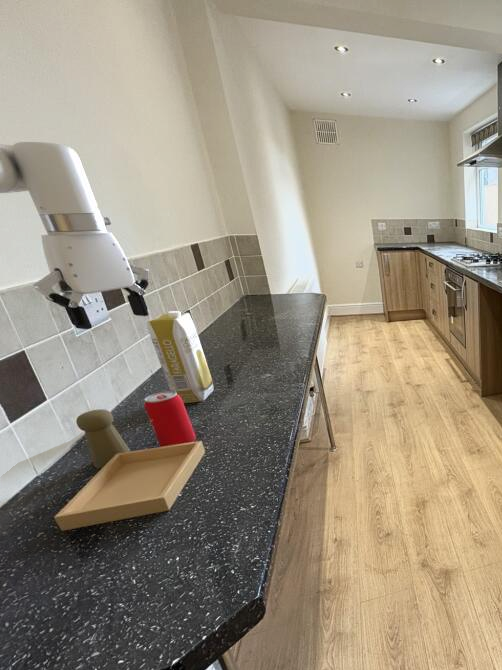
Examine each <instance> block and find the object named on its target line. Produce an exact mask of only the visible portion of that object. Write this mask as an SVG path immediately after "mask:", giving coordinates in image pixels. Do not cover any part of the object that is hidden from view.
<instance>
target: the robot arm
mask: <svg viewBox="0 0 502 670" xmlns="http://www.w3.org/2000/svg"><path fill="white" fill-rule="evenodd" d="M84 169H85V168H84V167H83V164H82V162H81V159H80V157H79V154H77V152H76V151H75V150H74V149H73V148H71V147H69V146H67V145H65V144H59V143H53V142H42V141H21V142H19V141H18V142H15V143H13V145H11V144H3V143H0V194H12V193H20V192H29V195H30V197H31V199H32V202H33V204H34V207H35V209H36V211H37V213H38V215H39V218H40V220H41V223H42V225H43V227H44V229H45V231H46V234H42V235H41V243H42V249H43V253H44V257H45V260H46V264H47V267H48V270H49V273H48V274H46V275H45V276H44V277H42V278H41V279H40V280H37V282H35V283H33V284H32V287H33V288H34V290H35V291H37V293H40V294H41V296H43V297H45V298H46V300H48V301H50V302H52V303H54V304H56V305H58V306H59V307H62V308H64V310H65V312H66V314H67V317H68V318H69V320H70V323H71V324H72V325H73V326H74V327H75V328H76V329H78V330H79V329H80V330H91V329H92V328H93V325H92V323H91V321H90V318H89V316H88V314H87V311H86V309H85V307H84V306H83V305H82V306H81V305H80V302H81V300H82V299H83V296H84V295H89V294H96V293H103V292H109V291H114V290H120V289H122V290H123V291H125V292H126V293H128V294H127V297H126V298H127V300H128V303H129V307H130V308H131V311H132V314H133V315H134V316H138V317H147V316H149V315H150V313H149V311H148V309H149V308H148V305H147V302H146V300H145V297H144V295H145V294H146V290H147V288H148V286H149V277H150V271H149V269H145V268H143V267H139V266H136V265H134V264H130V263H129V262H128V258H127V257H126V254H125V253H124V251H123V249H122V247H121V245H120V244H119V242H118V241H117V239H116V237H115V236H114V234H113V233H112V232H109V231H108V230H107V229H108V228H107V226H110V225H111V224H112V221H111V219H110V218H109V217H108V216H103V215H102V213H101V212H100V208H99V206H98V203H97V201H96V199H95V196H94V193H93V190H92V188H91V186H90V183H89V180H88V177H87V175H86V172H85V170H84ZM134 274H135V275H136V276H137V277H136V278H137V280H136V281H135V276H134ZM54 286H55V288H56V289H57V291H58V292H60V293H62V294H60V293H57V292H56V291H55V290H54V288H53V287H54Z"/></svg>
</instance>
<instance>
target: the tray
mask: <svg viewBox="0 0 502 670" xmlns="http://www.w3.org/2000/svg"><path fill="white" fill-rule="evenodd" d="M130 451H131V450H130ZM205 453H206V449H205V447H204V444H203V441H202V440H198V441H194V442H190V443H183V444H177V445H170V446H164V447H161V446H158V447H152V448H151V447H150V448H145V449H138V450H137V449H136V450H132V451H131V452H124V453H118V454H116V455H115V456H114V457H113V458H112V459H111V460H110V461H109V462H108V463H107V464H106V465H105V466H104V467H103V468H100V470H99V471H98V472H97V473H96V474H95V475H94V476H92V478H91V479H90V480H89V481H88V482H87V483H86V484H85V485H84V486H83V487H82V488H81V489H80V490H79V491H78V492H77V494H75V495H74V496H73V497H72V498H71V499H70V501H69V502H67V504H65V506H64V507H63V508H62V509H60V511H58V513H57V514H55V516H54V517H53V518H54V521H55V522H56V524H57V525H58V527H59V529H60V530H61V532H63V531H69V530H74V529H80V528H84V527H90V526H94V525H99V524H105V523H110V522H114V521H121V520H125V519H131V518H136V517H142V516H146V515H152V514H157V513H158V514H159V513H162V512H168V511H170V510H171V508H172V506H173V505H174V504H175V502H176V500H177V499H178V497H179V495H180V494H181V492H182V491H183V489H184V487H185V485H186V484H187V483H188V481H189V479H190V478H191V476H192V475H193V473H194V471H195V470H196V468H197V466H198V465H199V463H200V461H202V459H203V456H204V455H205Z"/></svg>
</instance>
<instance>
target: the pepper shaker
mask: <svg viewBox="0 0 502 670" xmlns="http://www.w3.org/2000/svg"><path fill="white" fill-rule="evenodd" d="M75 423H76V425H77V427H78V428H79V429H80V430H81V431H82V432H84V434H85V438H86V442H87V445H88V449H89V453H90V457H91V461H92V465H93V467H94V468H96V469H97V468H98V469H102V468H103V467H104V466H105V465H106V464H107V463H108V462H109V461H110V460H111V459H112V458H113V457H114V456H115V455H116V454H118V453H124V452H131V449H130V448H129V446H128V445H127V444H126V442H125V440H124V439H123V438H122V435H120V433H119V432H118V430H117V428H116V427H115V426H114V424H113V423H114V415H113V413H111V411H109V410H108V409H103V408H102V409H101V408H100V409H92V410H89V411H86V412H83V413H81V414H80V415H78V416H77V417H76V420H75Z"/></svg>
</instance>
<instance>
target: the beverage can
mask: <svg viewBox="0 0 502 670" xmlns="http://www.w3.org/2000/svg"><path fill="white" fill-rule="evenodd" d="M144 410H145V412H146V415H147V418H148V420H149V422H150V425H151V427H152V429H153V432H154V434H155V436H156V439H157V441H158V444H159V447H164V446H170V445H177V444H183V443H190V442H196V438H197V436H196V433H195V430H194V428H193V425H192V423H191V420H190V418H189V413H188V412H187V409H186V406H185V403H183V401H182V398H181V397H180V396H179V395H177V394H176V392H175V391H170V390H164V391H159V392H155V393H152V394H150V395H147V396H146V397H145V398H144Z"/></svg>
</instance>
